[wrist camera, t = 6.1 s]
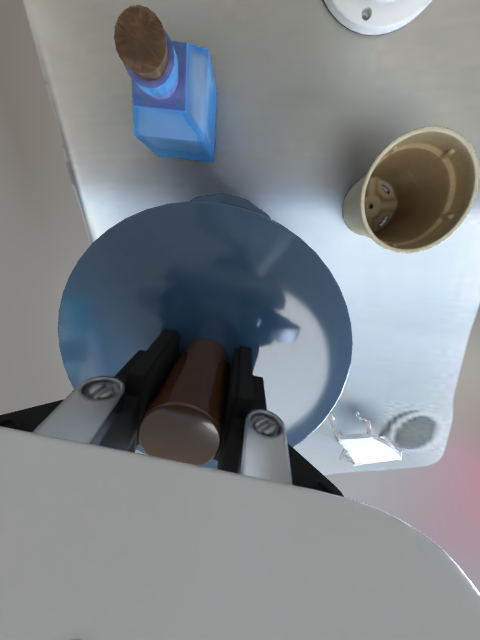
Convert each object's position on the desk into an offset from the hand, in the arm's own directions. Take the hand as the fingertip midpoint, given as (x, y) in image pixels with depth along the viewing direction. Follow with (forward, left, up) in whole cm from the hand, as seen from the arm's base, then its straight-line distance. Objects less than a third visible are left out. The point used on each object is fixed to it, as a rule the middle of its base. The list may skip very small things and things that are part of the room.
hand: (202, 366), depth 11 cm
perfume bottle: (-16, -8, -21) cm, 28 cm away
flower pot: (-13, +14, -21) cm, 28 cm away
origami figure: (+18, +25, -21) cm, 38 cm away
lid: (0, 0, -1) cm, 1 cm away
